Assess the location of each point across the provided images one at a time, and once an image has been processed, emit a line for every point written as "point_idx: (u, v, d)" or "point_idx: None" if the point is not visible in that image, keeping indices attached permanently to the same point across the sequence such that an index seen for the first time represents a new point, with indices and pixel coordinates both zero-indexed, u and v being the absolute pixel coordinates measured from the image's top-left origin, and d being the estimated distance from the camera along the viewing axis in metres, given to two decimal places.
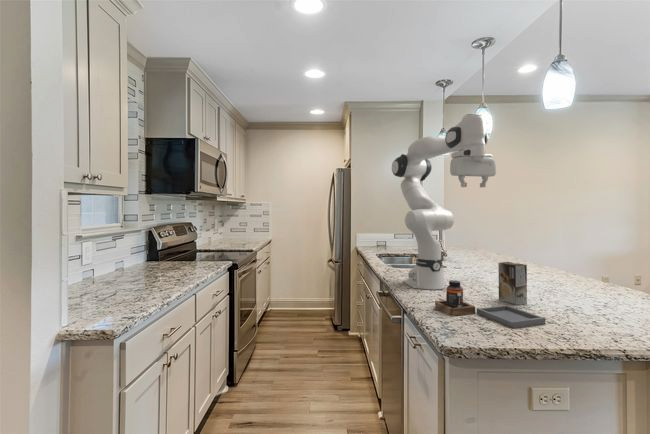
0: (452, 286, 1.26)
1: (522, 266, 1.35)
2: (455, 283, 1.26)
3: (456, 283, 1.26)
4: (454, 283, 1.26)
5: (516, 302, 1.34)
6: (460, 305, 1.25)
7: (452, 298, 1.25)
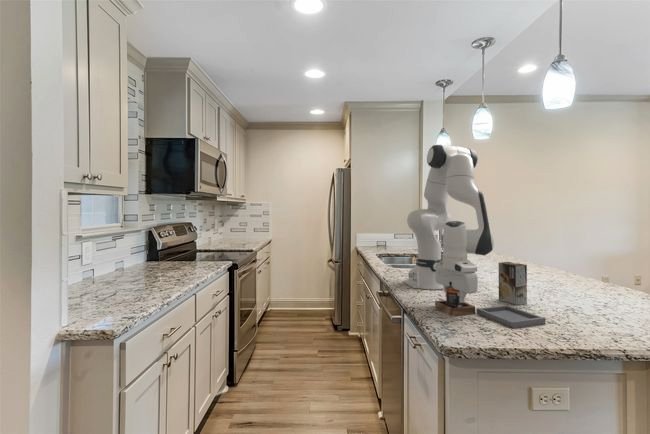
0: None
1: (522, 266, 1.35)
2: None
3: None
4: None
5: (516, 302, 1.34)
6: (460, 305, 1.25)
7: (452, 298, 1.25)
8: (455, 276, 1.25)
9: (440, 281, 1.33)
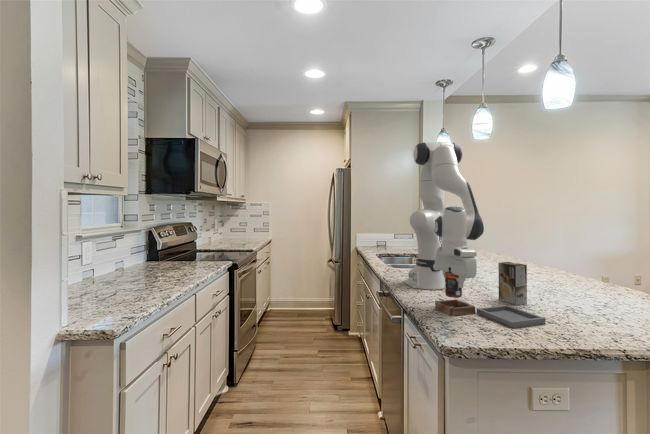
0: (451, 272, 1.26)
1: (522, 266, 1.35)
2: None
3: None
4: None
5: (516, 302, 1.34)
6: (459, 290, 1.25)
7: (451, 284, 1.25)
8: (454, 261, 1.25)
9: (439, 267, 1.33)
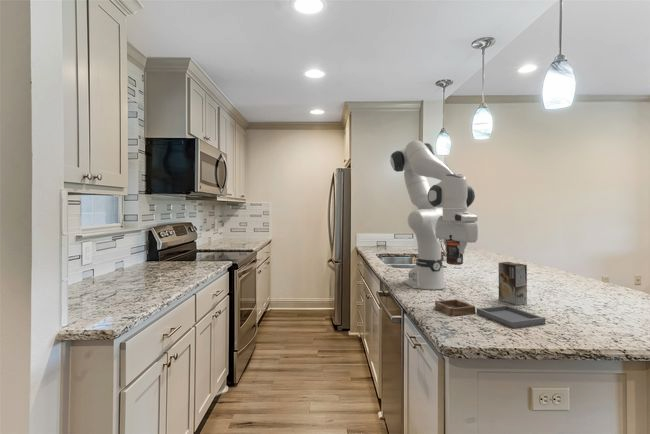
0: None
1: (522, 266, 1.35)
2: None
3: None
4: None
5: (516, 302, 1.34)
6: (460, 257, 1.25)
7: (452, 251, 1.25)
8: (455, 227, 1.24)
9: (440, 235, 1.33)
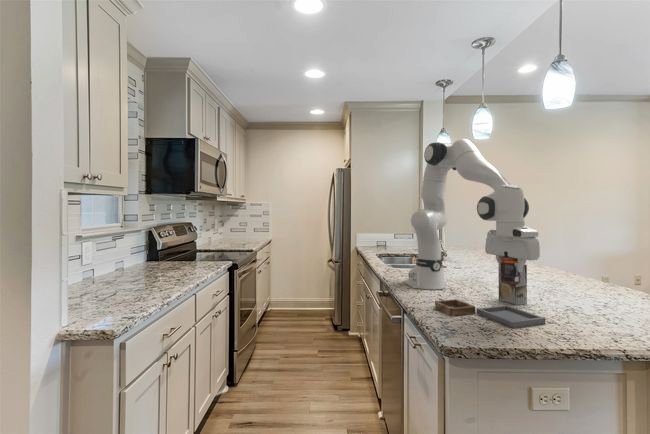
0: (507, 256, 1.16)
1: None
2: None
3: None
4: None
5: (516, 302, 1.34)
6: (518, 276, 1.15)
7: (509, 269, 1.15)
8: (512, 243, 1.14)
9: (491, 251, 1.23)
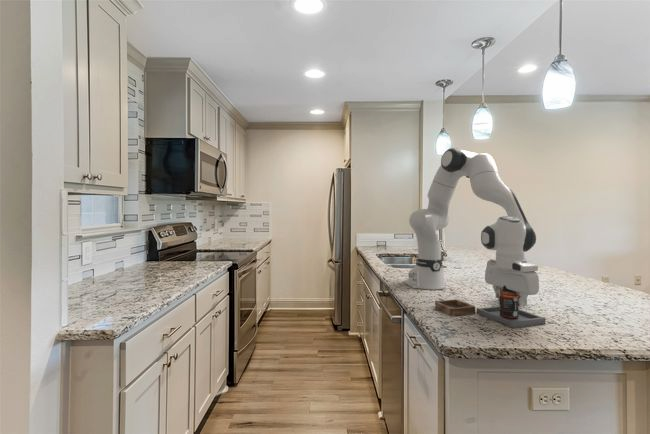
0: (506, 290, 1.16)
1: None
2: None
3: None
4: None
5: None
6: (516, 311, 1.15)
7: (507, 303, 1.15)
8: (511, 276, 1.15)
9: (491, 281, 1.23)
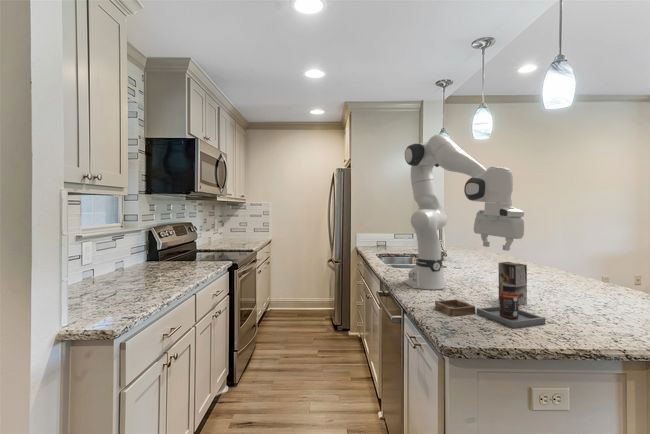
0: (506, 290, 1.16)
1: (522, 266, 1.35)
2: (510, 287, 1.16)
3: (512, 287, 1.16)
4: (509, 288, 1.16)
5: None
6: (516, 311, 1.15)
7: (507, 304, 1.15)
8: (498, 223, 1.19)
9: (479, 230, 1.28)
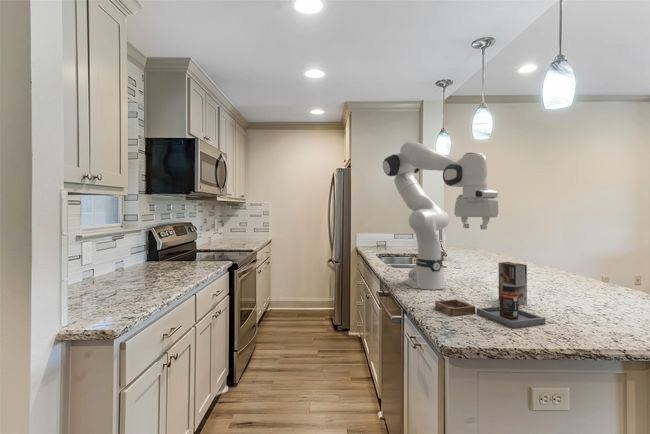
0: (506, 290, 1.16)
1: (522, 266, 1.35)
2: (510, 287, 1.16)
3: (511, 287, 1.16)
4: (509, 288, 1.16)
5: None
6: (516, 311, 1.15)
7: (507, 304, 1.15)
8: (475, 204, 1.28)
9: (459, 213, 1.36)
